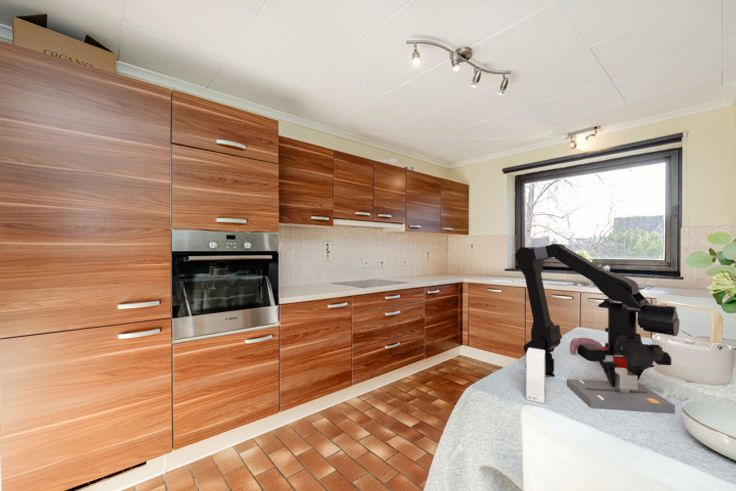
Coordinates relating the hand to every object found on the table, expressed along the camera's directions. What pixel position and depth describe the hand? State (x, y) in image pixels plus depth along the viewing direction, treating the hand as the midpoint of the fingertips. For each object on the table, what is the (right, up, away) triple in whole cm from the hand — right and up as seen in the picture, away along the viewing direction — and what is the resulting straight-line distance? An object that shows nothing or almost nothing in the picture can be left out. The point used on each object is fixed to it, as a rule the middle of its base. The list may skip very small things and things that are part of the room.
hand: (622, 387), depth 80 cm
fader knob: (0, -1, 0) cm, 1 cm away
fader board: (-1, -3, 0) cm, 3 cm away
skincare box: (-22, -4, +1) cm, 22 cm away
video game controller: (+13, -3, +32) cm, 35 cm away
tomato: (+16, -3, +21) cm, 26 cm away
